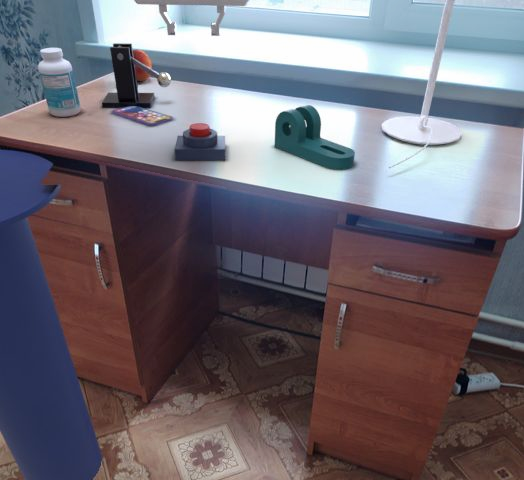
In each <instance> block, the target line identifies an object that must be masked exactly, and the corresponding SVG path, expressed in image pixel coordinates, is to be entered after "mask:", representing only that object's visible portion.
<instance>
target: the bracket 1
mask: <svg viewBox="0 0 524 480" xmlns="http://www.w3.org/2000/svg"><path fill="white" fill-rule="evenodd" d="M119 45H120V46H122V47H118V46H119ZM109 50H110V58H111V62H112V70H113V75H114V81H115V88H116V92H107V94H106V95H105V97H104V98H103V100H102V101H101V108H103V109H106V108H108V109H119V108H123V107H127V106H139V107H142V108H145V109H151V108H152V105H153V103H154V100H155V92H139V89H138V81H137V80H136V72H135V65H134V64H132V63H131V57H133V50H134V49H133V44H132V43H119V42H118V43H112V46H110V47H109ZM133 58H134V57H133Z"/></svg>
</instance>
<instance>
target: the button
mask: <svg viewBox="0 0 524 480" xmlns="http://www.w3.org/2000/svg"><path fill="white" fill-rule="evenodd" d="M189 129H190V135H191V136H193V137H206V136H209V135H210V129H211V125H210V124H208V123H204V122H196V123H192V124H190V125H189Z"/></svg>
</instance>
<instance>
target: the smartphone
mask: <svg viewBox="0 0 524 480" xmlns="http://www.w3.org/2000/svg"><path fill="white" fill-rule="evenodd" d="M111 112H112V114H113V115H115V116H118V117H121V118H123V119H126V120H130V121H132V122H136V123H139V124H141V125H144V126H147V127H155V126H159V125H163V124H166V123H168V122H171V121H173V117H172V116H170V115H168V114H164V113H162V112H161V113H160V112H159V111H154V110H151V109H149V108H142V107H139V106H127V107H123V108H114V109H112V111H111Z"/></svg>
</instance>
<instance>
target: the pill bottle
mask: <svg viewBox="0 0 524 480" xmlns="http://www.w3.org/2000/svg"><path fill="white" fill-rule="evenodd" d="M39 52H40V57H41V58H42V60H41V61H40V62H39V63H38V65H37V70H38V73H39V78H40V81H41V85H42V88H43V93H44V98H45V100H46V104H47V109H48V112H49V114H50V115H52V116H53V117H56V118H57V117H58V118H68V117H73V116H76V115H78V114H80V112H81V110H82V109H81V103H80V98H79V93H78V89H77V85H76V81H75V76H74V71H73V65H72V64H71V63H70V61H69V60H67V59H65V58H64V57H63V56H64V53H63V50H62V48H60V47H47V48H42V49H40V50H39Z"/></svg>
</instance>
